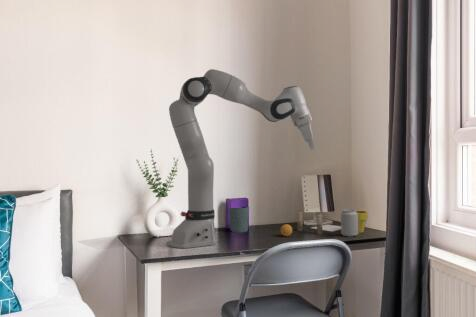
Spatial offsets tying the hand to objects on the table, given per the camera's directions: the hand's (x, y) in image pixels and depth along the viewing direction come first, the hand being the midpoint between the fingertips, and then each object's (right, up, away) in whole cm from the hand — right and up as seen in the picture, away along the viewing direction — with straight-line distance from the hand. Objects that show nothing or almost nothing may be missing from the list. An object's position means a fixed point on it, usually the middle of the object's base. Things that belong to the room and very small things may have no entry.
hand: (312, 148), depth 216 cm
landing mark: (+12, -40, +21) cm, 47 cm away
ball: (-12, -38, +1) cm, 40 cm away
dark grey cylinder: (-34, -41, +17) cm, 56 cm away
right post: (+5, -40, +6) cm, 41 cm away
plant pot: (+23, -40, +10) cm, 48 cm away
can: (+17, -41, 0) cm, 44 cm away
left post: (-3, -40, +16) cm, 44 cm away
